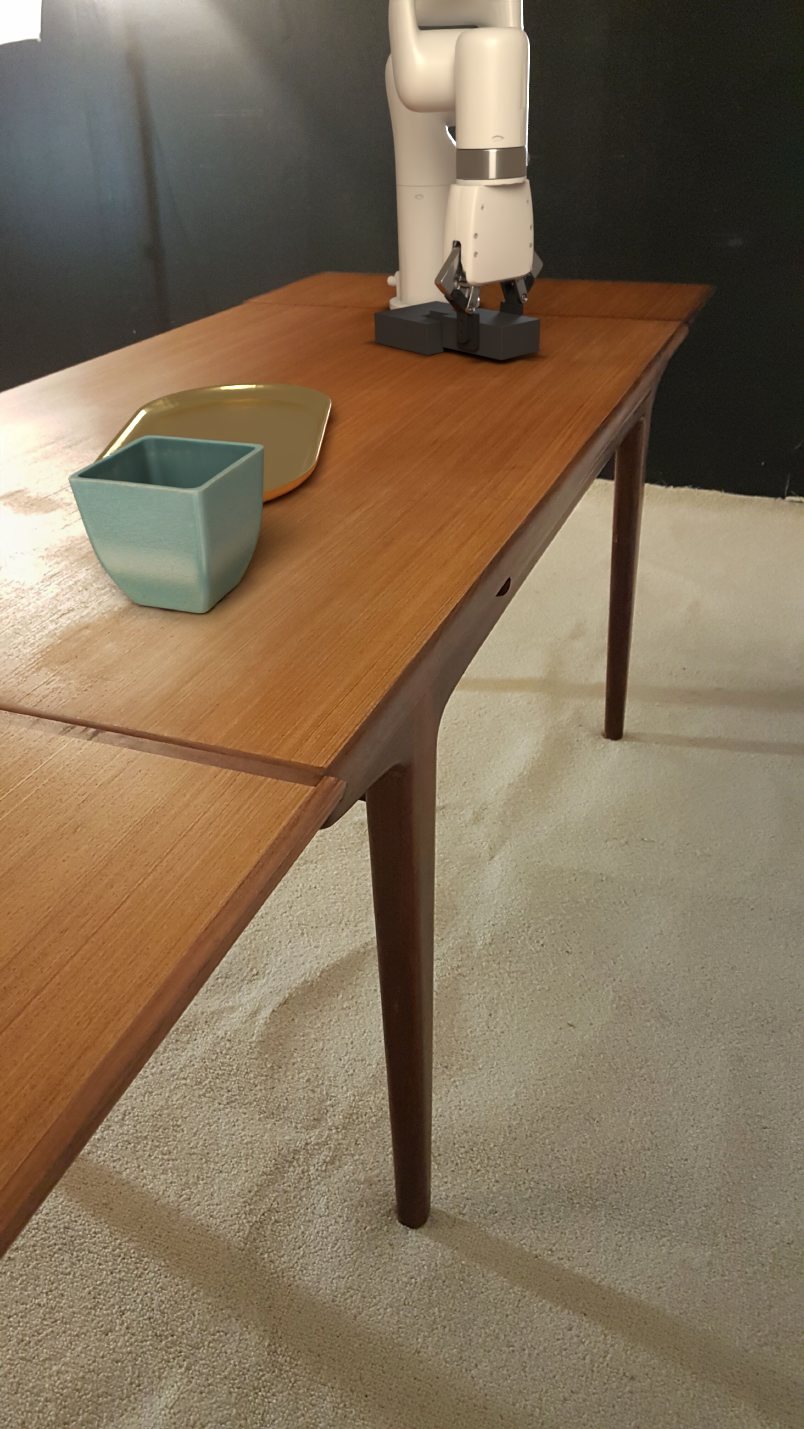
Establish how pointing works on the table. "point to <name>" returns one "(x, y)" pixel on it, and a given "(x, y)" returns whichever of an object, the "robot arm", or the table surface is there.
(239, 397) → the serving platter
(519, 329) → the pad
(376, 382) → the table surface
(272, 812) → the table surface
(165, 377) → the table surface
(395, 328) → the notch pad
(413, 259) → the robot arm
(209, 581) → the flower pot
